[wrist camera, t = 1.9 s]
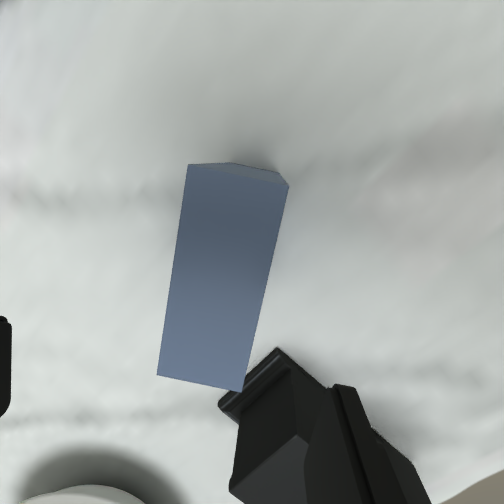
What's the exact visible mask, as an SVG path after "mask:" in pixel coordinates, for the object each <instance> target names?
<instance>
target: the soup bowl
mask: <svg viewBox="0 0 504 504" xmlns="http://www.w3.org/2000/svg"><path fill="white" fill-rule="evenodd" d="M19 504H145V503H144V502H142V501H141V500H140V499H138V498H137V497H135V496H133V495H132V494H130V493H128V492H125V491H123V490H120V489H117V488H114V487H109V486H103V485H79V486H73V487H69V488H65V489H62V490H59V491H56V492H52V493H46V494H42V495H38V496H34V497H32V498H29V499H26V500H24V501H22V502H20V503H19Z"/></svg>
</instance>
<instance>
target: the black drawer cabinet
mask: <svg viewBox="0 0 504 504" xmlns="http://www.w3.org/2000/svg"><path fill="white" fill-rule="evenodd" d="M325 391H326V388H324V387H323V386H322V385H321V384H319V383H318V382H317V381H316V380H315V379H314V378H312V377H311V376H310V375H309V374H308V373H307V372H305V370H303V368H301V367H300V366H298V365H297V364H296V363H295V362H294V361H293V360H292V359H290V358H289V357H288V356H287V355H286V354H285V353H283V352H282V351H281V350H279V349H278V348H276V349H275V350H274V351H273V352H272V353H270V354H269V355H268V356H267V357H266V358H265V359H264V360H263V361H262V362H261V363H260V364H259V365H257V366H256V367H255V368H254V369H253V370H252V371H251V372H250V373H249V374H247V376H246V377H245V379H244V384H243V388H242V392H236V391H231V390H230V391H229V392H228V393H227V394H226V395H225V396H224V397H223V398H222V399H221V400H220V401H219V402H218V407H219V408H220V410H221V411H222V412H223V413H225V414H226V415H227V416H229V417H230V418H231V419H232V420H233V421H235V422H236V423H237V424H238V425H239V429H238V436H237V444H236V451H235V458H234V466H233V473H232V476H231V478H230V481H229V492H230V493H231V494H232V495H234V496H235V497H236V498H238V499H239V500H240V501H242V502H243V503H244V504H307V496H306V488H305V480H304V460H305V456H306V453H307V450H308V446H309V443H310V440H311V437H312V434H313V430H314V427H315V424H316V421H317V417H318V414H319V411H320V408H321V404H322V401H323V398H324V395H325ZM372 431H373V434H374V436H375V439H376V441H379V442H380V443H381V444H383V446H384V448H385V450H386V452H387V455H388V457H389V460H390V462H391V464H392V467H393V469H394V472H395V474H396V477H397V479H398V481H399V484H400V486H401V489H402V491H403V493H404V496H405V498H406V501H407V503H408V504H432V503H431V501H430V499H429V497H428V495H427V493H426V491H425V489H424V486H423V484H422V482H421V480H420V478H419V476H418V473H417V471H416V469H415V467H414V465H413V464H412V463H411V462H409V461H408V460H407V459H406V458H405V457H404V456H402V455H401V454H400V453H399V452H398V451H397V450H396V449H394V448H393V447H392V446H391V445H390V444H389V443H387V442H386V440H384V439H383V438H381V436H379V435H378V434H377V433H376V432H375V431H374V430H373V429H372Z"/></svg>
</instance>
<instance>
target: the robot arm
mask: <svg viewBox="0 0 504 504" xmlns="http://www.w3.org/2000/svg"><path fill="white" fill-rule="evenodd" d="M11 349H12V326H11V324H10V323H8V321H7V319H6V318H5V317H4V316H0V417H1V416H2V415H3V414H4V413H5V412H6V410H7V409H8V407H9V404H10V400H11ZM304 480H305V488H306V496H307V504H408V503H407V501H406V498H405V496H404V493H403V491H402V489H401V486H400V484H399V481H398V479H397V477H396V474H395V472H394V469H393V467H392V464H391V462H390V460H389V457H388V455H387V452H386V450H385V448H384V446H383V444H381V443H380V442H379V441H376V439H375V436H374V434H373V431H372V429H371V426H370V424H369V421H368V418H367V416H366V413H365V411H364V408H363V406H362V403H361V401H360V398H359V396H358V393H357V391H356V389H355V388H354V387H350V386H345V385H340V384H334V386H333V388H329V387H328V388H327V389H326V391H325V395H324V398H323V401H322V404H321V408H320V411H319V414H318V417H317V421H316V424H315V427H314V430H313V434H312V437H311V440H310V443H309V446H308V450H307V453H306V456H305V460H304Z"/></svg>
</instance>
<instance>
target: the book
mask: <svg viewBox="0 0 504 504" xmlns="http://www.w3.org/2000/svg"><path fill="white" fill-rule="evenodd" d="M288 189H289V185H288V184H287V183H286V181H285V180H284V179H283V178H282V176H281V175H280V174H279V173H277V172H272V171H267V170H263V169H258V168H253V167H248V166H244V165H239V164H234V163H209V164H188V168H187V174H186V181H185V188H184V195H183V201H182V208H181V215H180V221H179V228H178V235H177V241H176V248H175V255H174V262H173V268H172V275H171V282H170V288H169V295H168V302H167V308H166V315H165V322H164V329H163V335H162V342H161V349H160V355H159V362H158V369H157V375H159V376H164V377H169V378H174V379H178V380H183V381H188V382H193V383H198V384H202V385H207V386H212V387H217V388H222V389H226V390H231V391H236V392H242V388H243V384H244V379H245V375H246V371H247V366H248V362H249V358H250V353H251V349H252V345H253V340H254V336H255V332H256V327H257V323H258V319H259V314H260V310H261V306H262V301H263V297H264V293H265V288H266V284H267V280H268V275H269V271H270V267H271V262H272V258H273V254H274V249H275V245H276V241H277V236H278V232H279V228H280V223H281V219H282V215H283V210H284V206H285V202H286V197H287V193H288Z"/></svg>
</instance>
